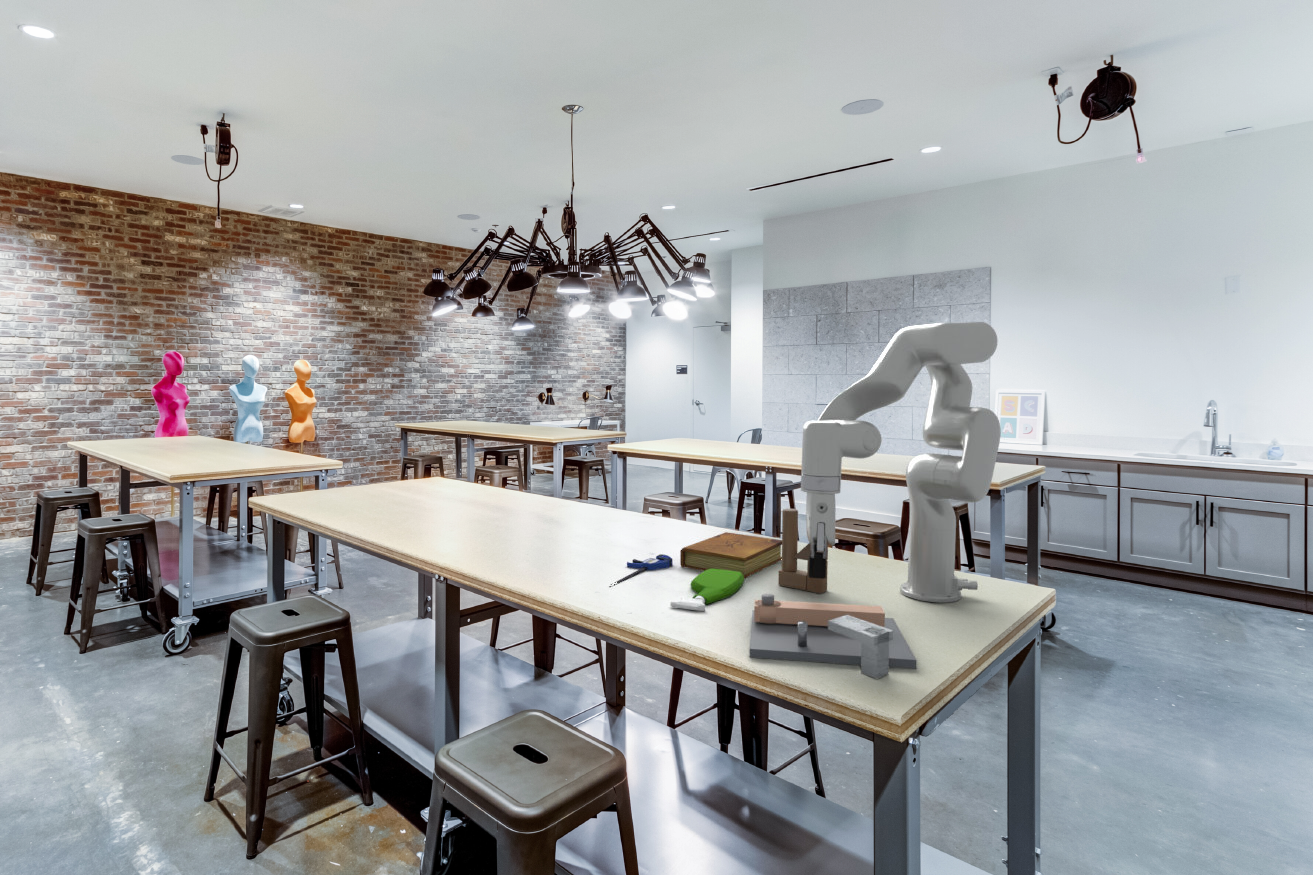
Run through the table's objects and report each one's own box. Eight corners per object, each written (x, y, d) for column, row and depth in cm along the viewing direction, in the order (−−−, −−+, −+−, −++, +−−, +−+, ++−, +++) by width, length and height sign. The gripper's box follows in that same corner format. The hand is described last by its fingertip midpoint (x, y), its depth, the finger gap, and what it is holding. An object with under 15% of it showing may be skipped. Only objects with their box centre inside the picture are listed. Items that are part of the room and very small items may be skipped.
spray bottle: (747, 584, 154) (712, 618, 132) (705, 578, 159) (663, 610, 136) (748, 572, 154) (712, 604, 132) (705, 566, 158) (663, 596, 136)
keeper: (795, 653, 112) (796, 613, 112) (821, 644, 116) (822, 606, 115) (865, 683, 100) (866, 639, 100) (892, 672, 104) (893, 630, 104)
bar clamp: (644, 551, 176) (677, 555, 171) (644, 559, 176) (677, 564, 171) (572, 586, 148) (609, 592, 143) (573, 596, 148) (609, 603, 143)
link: (754, 622, 121) (754, 599, 121) (754, 613, 126) (754, 591, 126) (884, 630, 117) (885, 606, 117) (880, 620, 122) (880, 597, 122)
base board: (892, 625, 125) (893, 618, 125) (916, 668, 106) (916, 659, 106) (752, 617, 130) (752, 610, 130) (749, 657, 110) (749, 648, 110)
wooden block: (821, 594, 145) (822, 515, 144) (777, 585, 152) (778, 509, 150) (827, 590, 148) (829, 512, 147) (785, 582, 154) (786, 507, 153)
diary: (723, 551, 187) (723, 531, 187) (783, 561, 176) (784, 540, 176) (680, 568, 168) (680, 546, 168) (744, 580, 158) (744, 556, 157)
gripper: (845, 489, 118) (840, 589, 119) (836, 480, 133) (832, 569, 133) (803, 487, 119) (799, 586, 120) (799, 479, 134) (795, 566, 135)
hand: (816, 576), depth 127 cm, fingers closed
